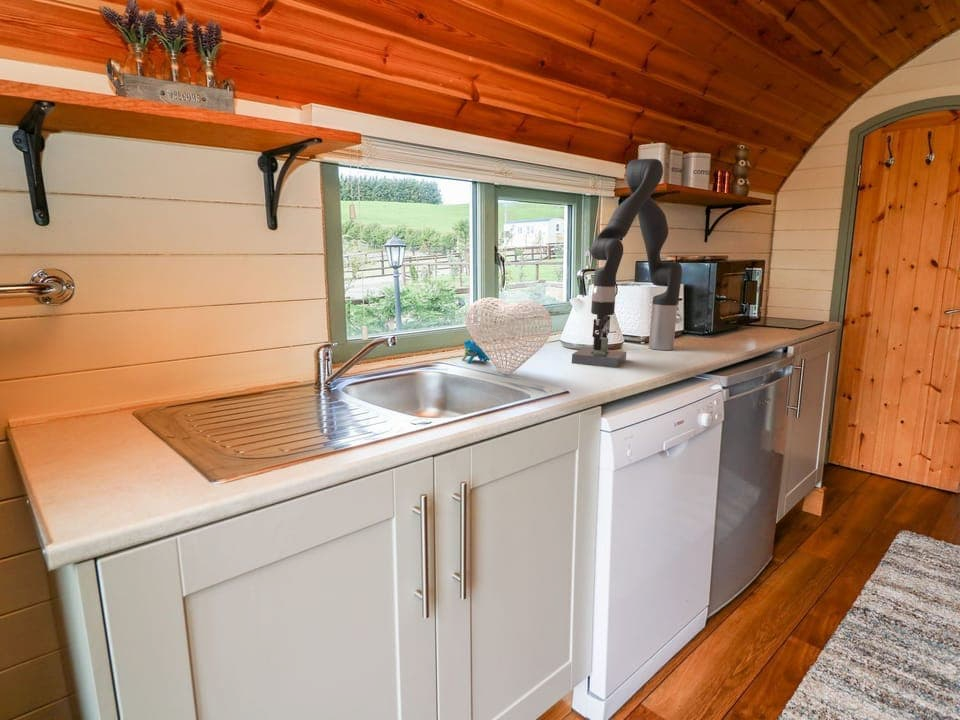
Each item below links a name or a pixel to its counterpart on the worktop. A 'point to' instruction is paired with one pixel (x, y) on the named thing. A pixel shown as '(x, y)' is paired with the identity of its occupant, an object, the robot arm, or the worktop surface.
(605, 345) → the peg
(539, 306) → the heart
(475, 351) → the blue irregular piece
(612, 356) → the hole block
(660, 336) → the robot arm
